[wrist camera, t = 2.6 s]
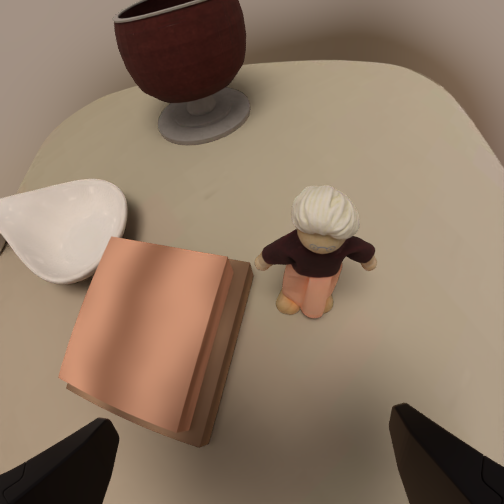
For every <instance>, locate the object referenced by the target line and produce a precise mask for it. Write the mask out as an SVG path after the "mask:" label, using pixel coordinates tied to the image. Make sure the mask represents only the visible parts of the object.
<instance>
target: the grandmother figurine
mask: <svg viewBox="0 0 504 504" xmlns="http://www.w3.org/2000/svg"><path fill="white" fill-rule="evenodd" d="M291 218H292V222H293V224H294V225H295V227H296V228H297V229H296V230H294V231H292V232H291V233H289V234H287V235H285V236H283V237H281V238H280V239H278V240H276V241H274V242H273V243H271V244H269V245H267V246H266V247H265V248H264V249H263V251H262V252H261V254H260V255H259V256H258V257H257V258H256V259H255V266H256V268H257V269H258V270H261V271H264V270H267V269H268V268H269V267H270V266H272V265H273V264H274V265H275V264H283V265H286V269H285V272H284V277H283V288H282V290H281V292H280V294H279V296H278V298H277V301H276V306H277V308H278V310H279V311H280V312H282V313H284V314H289V315H291V314H295V313H297V312H298V311H299V309H300V308H301V310H302V312H303V313H304V314H305V315H306V316H308V317H310V318H319V317H321V316H322V314H323V313H326V312H328V311H330V310H331V308H332V306H333V299H332V295H331V294H332V292H333V290H334V288H335V286H336V283H337V281H338V278H339V275H340V272H341V270H342V261H343V259H344V258H345V257H346V256H347V257H348V258H350V259H352V260H354V261H357V262H359V263H361V265H362V267H363V268H364V269H365V270H367V271H371V270H373V269H375V268H376V266H377V260H376V258H375V256H374V253H375V248H374V246H373V245H372V244H370V243H368V242H365V241H364V240H362V239H360V238H358V237H355V236H353V235H355V234H356V232H357V231H358V229H359V225H360V222H359V215H358V211H357V209H356V208H355V206H354V204H353V203H352V201H351V200H350V199H349V198H348V197H347V196H346V195H345V194H344V193H343V192H341V191H339V190H336V189H335V188H334V187H332V186H330V185H323V186H309V187H306V188H305V189H304V190H303V191H302V192H301V194H299V195H298V196H296V198H295V199H294V202H293V206H292V211H291Z"/></svg>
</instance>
